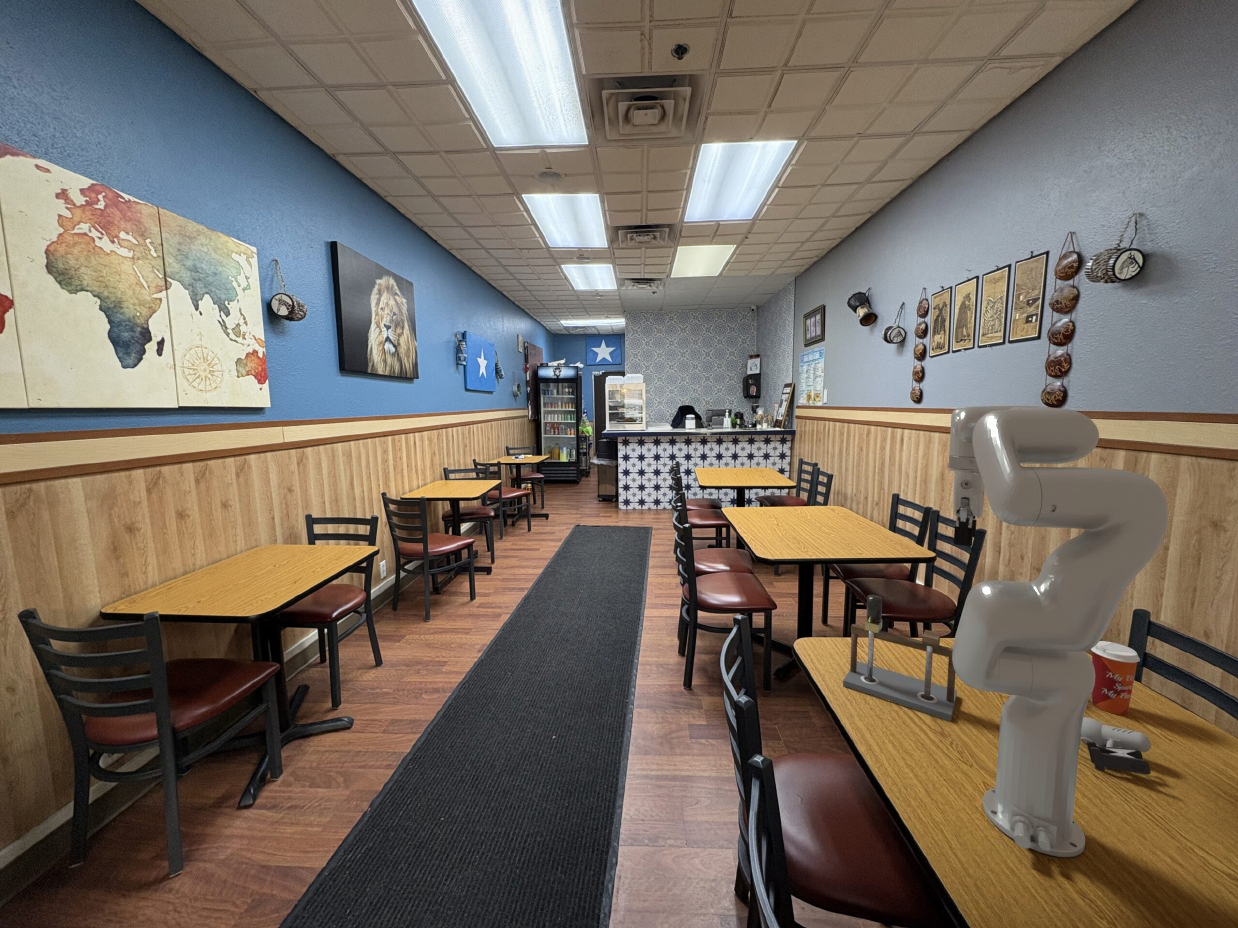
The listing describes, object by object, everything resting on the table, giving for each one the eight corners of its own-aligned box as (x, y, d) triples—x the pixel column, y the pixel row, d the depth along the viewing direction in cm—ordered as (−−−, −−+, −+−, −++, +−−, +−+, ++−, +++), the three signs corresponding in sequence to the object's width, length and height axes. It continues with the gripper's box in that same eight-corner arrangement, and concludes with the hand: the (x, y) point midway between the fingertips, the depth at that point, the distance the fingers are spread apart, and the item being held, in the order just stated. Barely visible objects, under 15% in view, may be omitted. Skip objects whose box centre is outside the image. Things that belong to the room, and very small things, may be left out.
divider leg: (876, 681, 116) (879, 601, 114) (862, 676, 119) (865, 598, 116) (880, 673, 120) (883, 596, 118) (866, 669, 122) (869, 593, 120)
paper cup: (1111, 718, 104) (1116, 657, 103) (1076, 697, 112) (1081, 640, 110) (1145, 717, 104) (1151, 655, 103) (1108, 696, 112) (1114, 639, 111)
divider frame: (952, 706, 107) (956, 644, 105) (847, 674, 121) (849, 618, 119) (954, 697, 110) (958, 637, 109) (852, 666, 124) (854, 613, 123)
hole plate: (950, 721, 104) (951, 714, 104) (843, 685, 118) (843, 679, 118) (956, 696, 113) (957, 689, 113) (855, 665, 127) (856, 660, 127)
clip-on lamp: (1023, 754, 98) (1153, 786, 84) (1015, 723, 98) (1144, 751, 84) (1035, 724, 106) (1156, 749, 92) (1028, 696, 106) (1148, 717, 92)
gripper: (988, 469, 96) (983, 552, 98) (992, 461, 109) (988, 535, 111) (943, 466, 101) (939, 546, 103) (953, 460, 114) (949, 530, 116)
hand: (964, 540), depth 107 cm, fingers open, 9 cm apart
